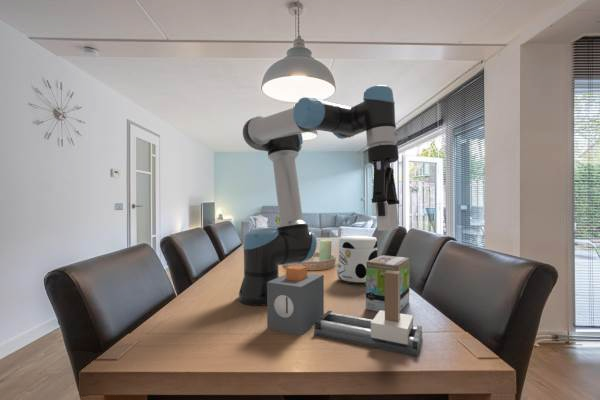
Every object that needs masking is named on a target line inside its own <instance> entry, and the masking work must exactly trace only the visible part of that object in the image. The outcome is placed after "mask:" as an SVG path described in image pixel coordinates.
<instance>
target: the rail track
mask: <svg viewBox="0 0 600 400" xmlns="http://www.w3.org/2000/svg"><path fill="white" fill-rule="evenodd" d="M372 320H373V319H371V318H370V319H369V318H366V317H365V318H364V317H359V316H352V315H349V314H348V315H347V314H342V313H335V312H333V311H332V310H327V311H326V312H324V315H323V316H321V317H320V318H319V319H318V320H317V321H315V325H314V329H313V335H314V336H319V337H323V338H328V339H331V340H332V339H333V340H337V341H342V342H347V343H350V344H351V343H352V344H356V345H360V346H364V347H369V348H374V349H379V350H384V351H388V352H391V353H392V352H393V353H398V354H403V355H407V356H412V357H418V356H419V352H420V349H421V344H422V340H423V326H422V325H421V326H420V325H417V326H413V327H412V328H411V331H410V334H409V336H408V345H407V344H402V343H397V342H392V341H387V340H382V339H377V338H372V337H371V322H372Z"/></svg>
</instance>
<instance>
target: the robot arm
mask: <svg viewBox="0 0 600 400" xmlns="http://www.w3.org/2000/svg"><path fill="white" fill-rule="evenodd" d="M362 99H363V101H361V102H360V103H359V104H356V105H354V106H352V107H351V106H350V107H349V106H346V105H341V104H337V103H332V102H330V101H329V102H328V101H325V100H321V99H318V98H315V97H305V96H304V97H302V98H299V100H298V102H296V103H295V105H294V107H292V108H289V109H285V110H283V111H279V112H276V113H273V114H271V115H267V116H255V117H251V118H250V119H249V120H247V121H246V122H245V124H244V125H243V128H242V137H243V139H244V141H245V142H246V144H247V145H248V146H249V147H251V148H252V149H254V150H257V151H261V152H262V151H263V152H267V156H268V159H269V160H270V161H271V162H272V165H273V174H274V183H275V190H276V200H277V208H278V217H279V224H278V225H277V226H276V227H266V228H258V229H254V230H251V231H249V232H247V233H245V235H244V239H243V246H242V247H243V279H242V282H241V285H240V287H239V288H240V289H239V291H238V301H239V302H240V303H242V304H245V305H249V306H250V305H251V306H266V305H267V282H269V281H271V280H274V279H276V278H278V277H280V274H279V266H282V265H288V264H296V263H297V264H299V263H300V264H301V263H303V262H306V261H309V260H311V259H312V258H313V257H314V255H315V254H316V250H317V244H318V243H317V236H316V234H315V233H314V231H313V230H312V229H310V228H309V227H308V226H309V225H308V223H307V222H306V221H305V220H304V219H303V211H302V203H301V196H300V189H299V179H298V172H297V171H298V170H297V165H296V159H297V158H298V156H299V153H300V151H301V149H302V147H303V146H302V145H303V143H304V141H303V133H309V132H314V131H321V132H329V133H332V134H333V135H334V136H335V137H336V138H337V139H340V140H341V139H343V140H344V139H347V138H349V139H350V138H352V137H354V136H356V135H359V134H362V133H364V132H366V148H368V150H367V155H368V157H367V159H368V164H371V165H373V182H372V183H373V185H372V187H373V188H372V198H371V203H372V204H375V213H376V215H375V217H376V227H377V228H376V229H377V232H380V231H381V232H382V231H390V230H391V229H400V228H399V227H400V226H399V217H398V216H399V215H398V205H399V204H400V200H399V199H398V196H397V188H396V182H395V177H394V170H395V169H394V168H393V167H391V164H392V163H395V162H397V161H399V148H398V146H397V144H398V138H397V137H398V136H399V135H400V132H399V131H397V127H396V115H395V114H396V112H395V111H396V109H395V101H394V94H393V89H392V87H390V86H388V85H384V84H377V85H374V86H370V87H369V88H366V90H365V91H364V92H363V97H362Z"/></svg>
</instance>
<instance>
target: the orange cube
mask: <svg viewBox="0 0 600 400" xmlns="http://www.w3.org/2000/svg"><path fill="white" fill-rule="evenodd" d="M307 273H308V266H304V265H295V264H294V265H290V266H288V267H286V268H285V274H286V280H293V281H303V280H305V279H307Z"/></svg>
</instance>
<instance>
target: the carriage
mask: <svg viewBox="0 0 600 400" xmlns="http://www.w3.org/2000/svg"><path fill="white" fill-rule="evenodd" d="M371 320H372V322H371V337H372V338H377V339H382V340H387V341H392V342H397V343H402V344H407V345H408V336H409V334H410V331H411V328H412V327H414V315H413V314H407V313H406V314H405V313H401V311H400V271H391V270H387V271H386V272H385V311H382V310H380V311H379V312H377V313H376V314H375V316H374V317H373V319H371Z"/></svg>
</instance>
